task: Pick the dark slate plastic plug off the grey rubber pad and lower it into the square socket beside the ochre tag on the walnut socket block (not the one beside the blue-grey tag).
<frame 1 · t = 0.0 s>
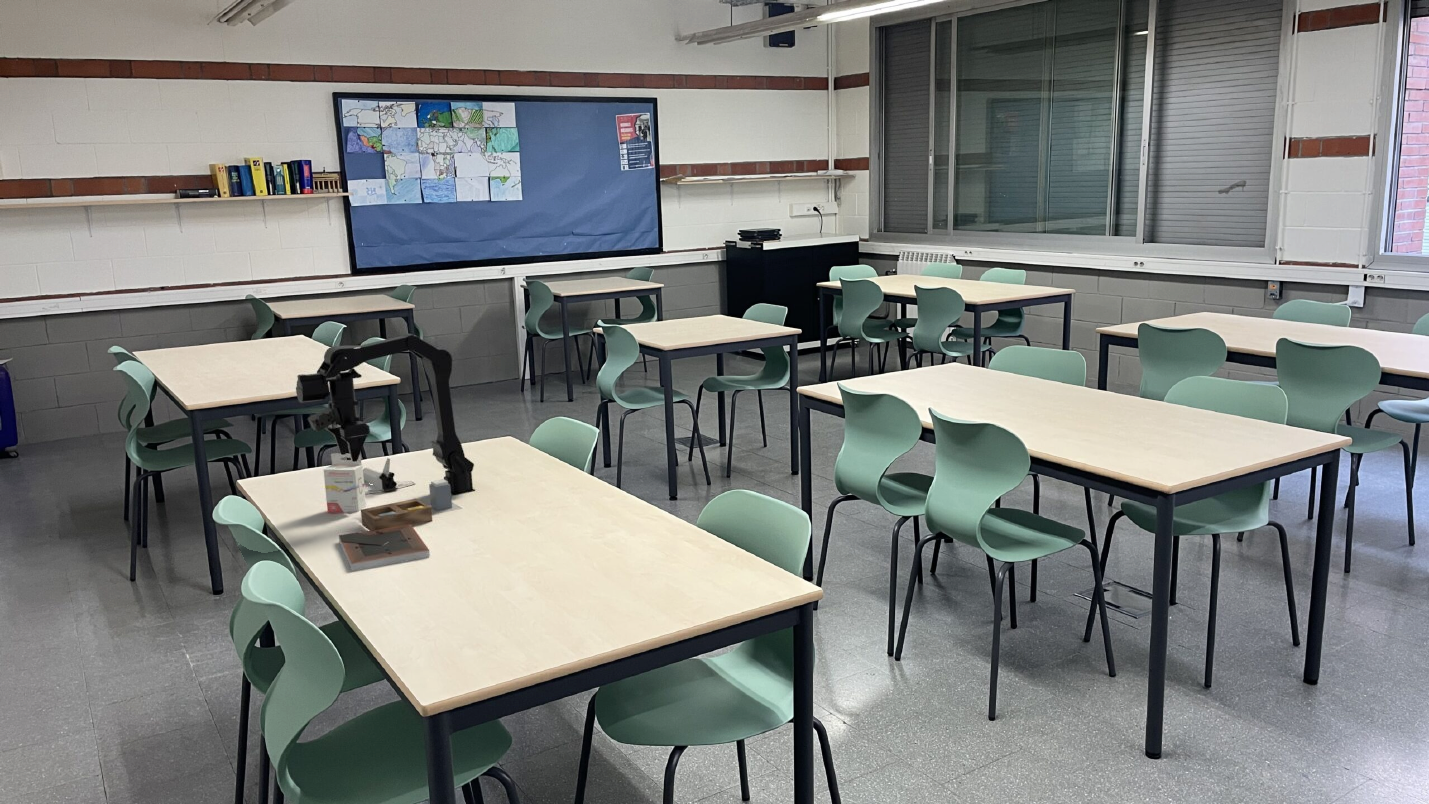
hand: (349, 457, 257), 15 cm above the table, tool pointing down, fingers open, 9 cm apart
socket block: (397, 524, 251), on the table
plug: (441, 507, 261), resting on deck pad
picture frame: (383, 553, 233), on the table
ink cartridge box: (347, 511, 263), on the table
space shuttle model: (377, 485, 288), on the table
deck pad: (441, 509, 261), on the table
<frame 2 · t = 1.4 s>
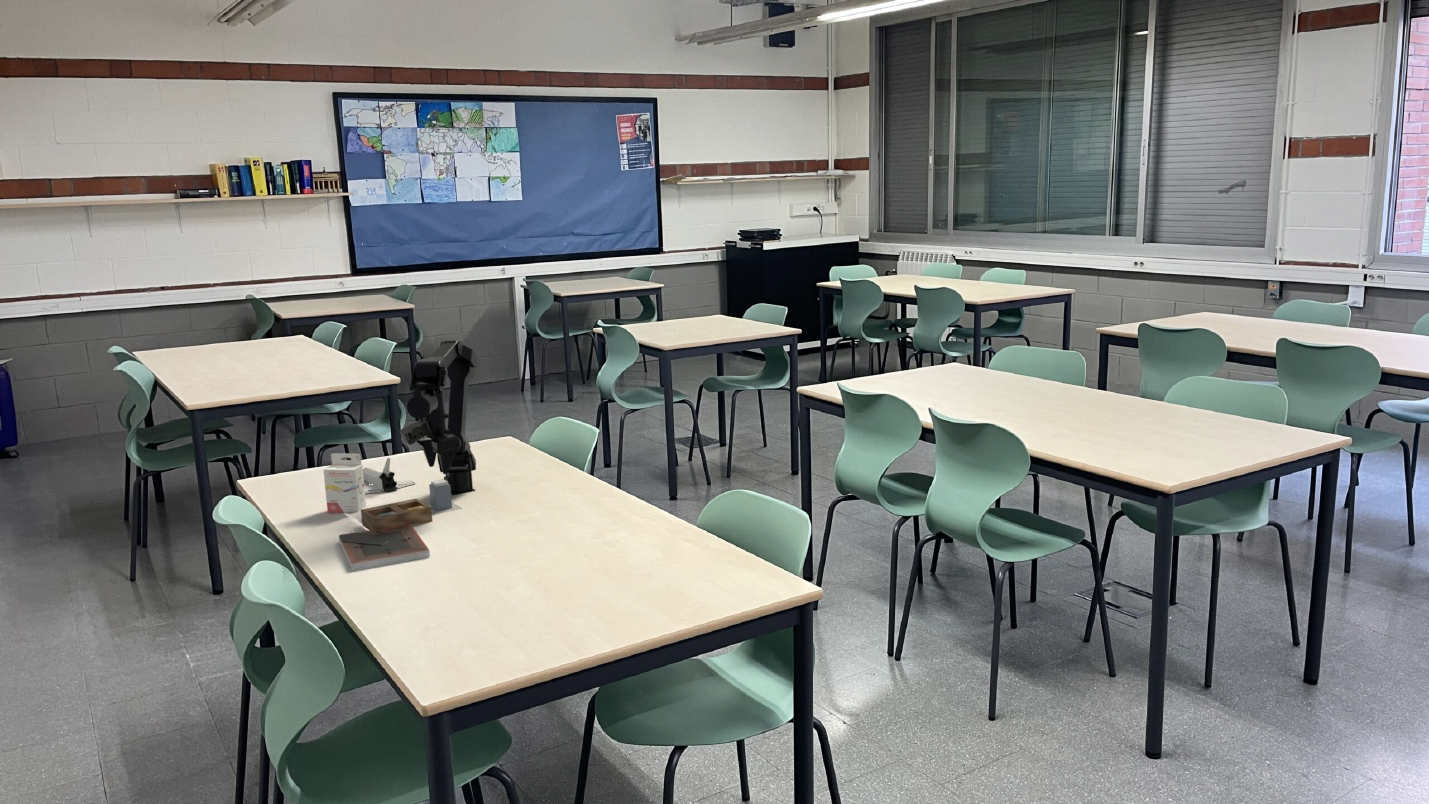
hand: (438, 470, 259), 10 cm above the table, tool pointing down, fingers open, 9 cm apart
nothing on the table moved.
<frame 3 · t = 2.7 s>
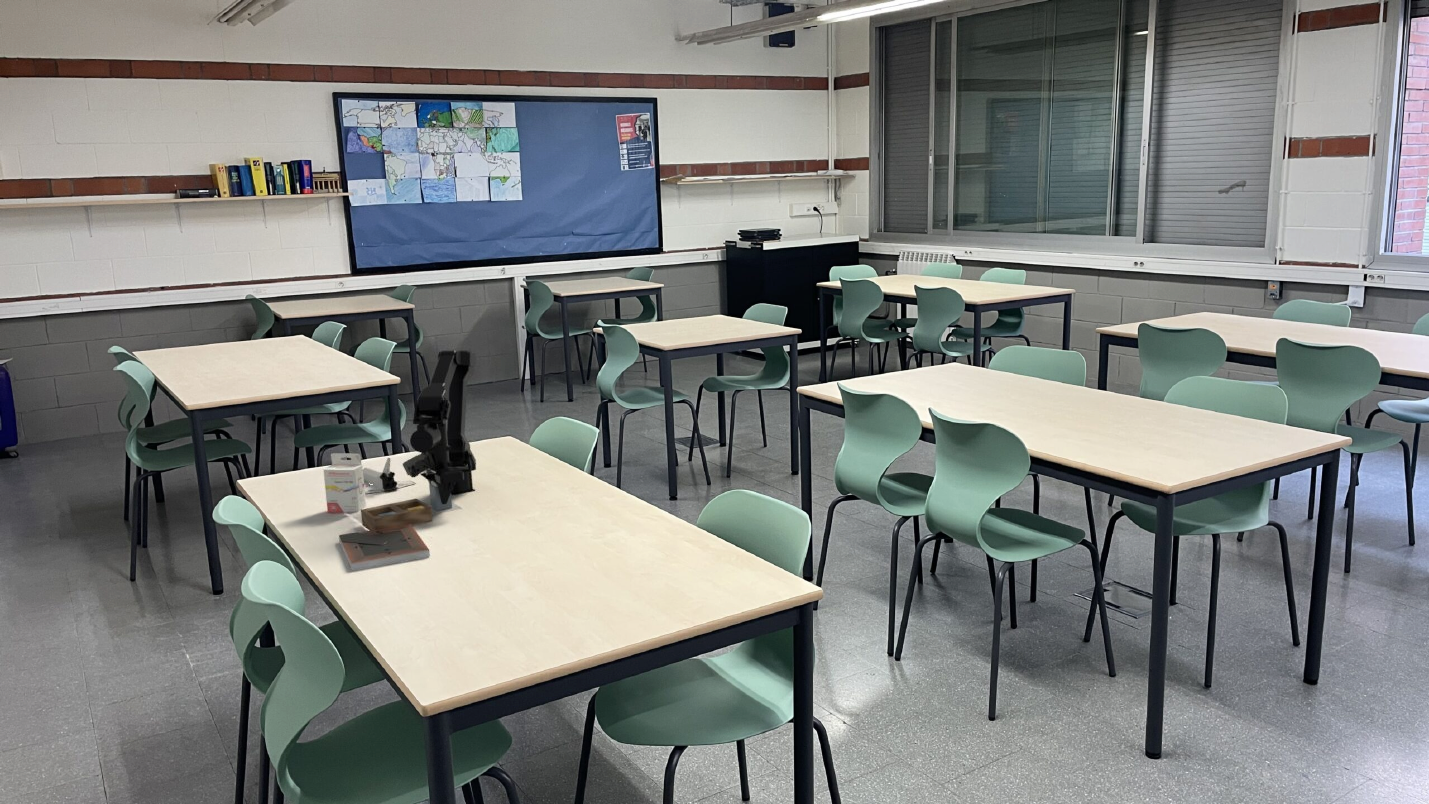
hand: (441, 502, 261), 2 cm above the table, tool pointing down, fingers closed on plug, 4 cm apart
plug: (441, 507, 261), resting on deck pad, touching gripper
everything else where it was.
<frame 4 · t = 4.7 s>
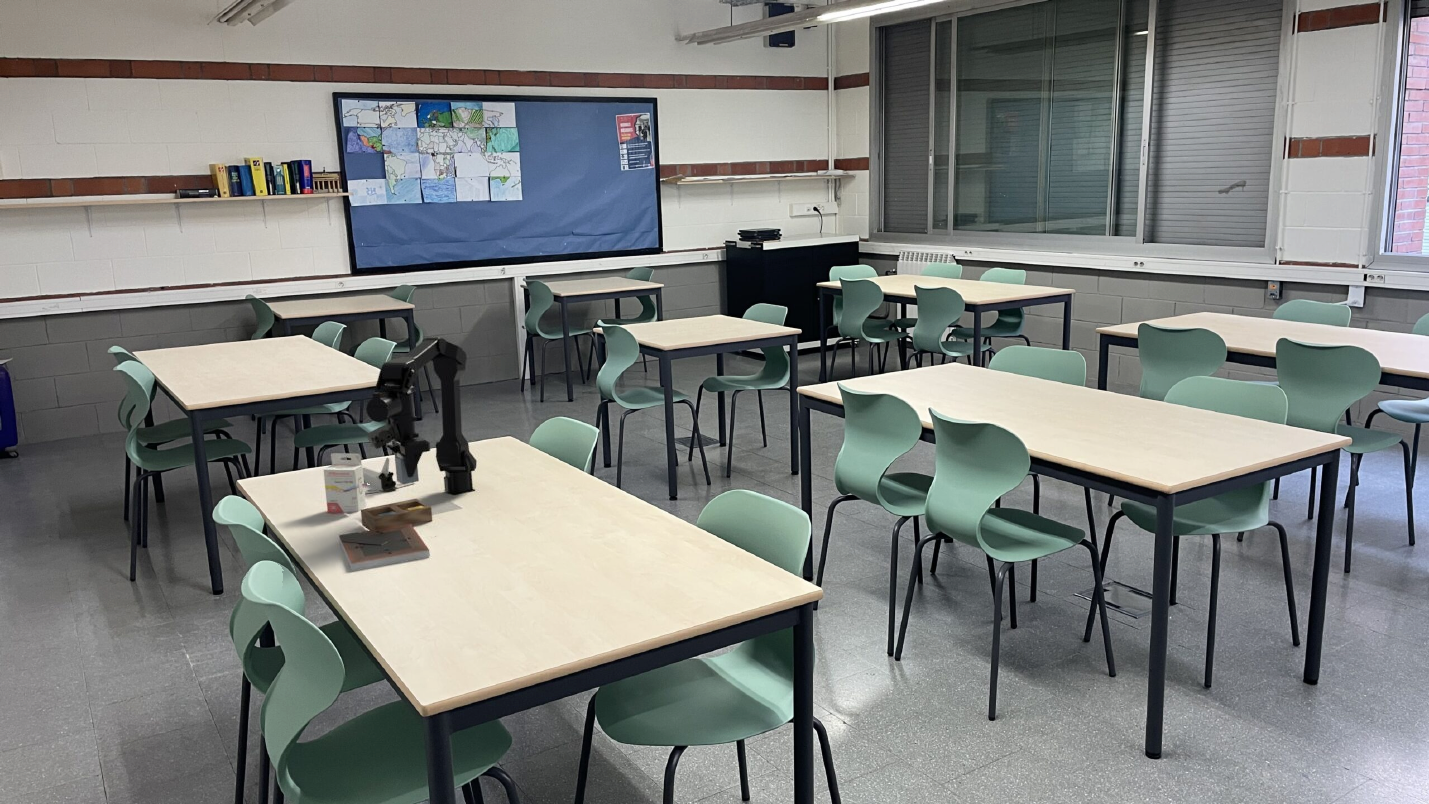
hand: (407, 475, 250), 12 cm above the table, tool pointing down, fingers closed on plug, 4 cm apart
plug: (407, 481, 251), point 10 cm above the table, touching gripper
everything else where it was.
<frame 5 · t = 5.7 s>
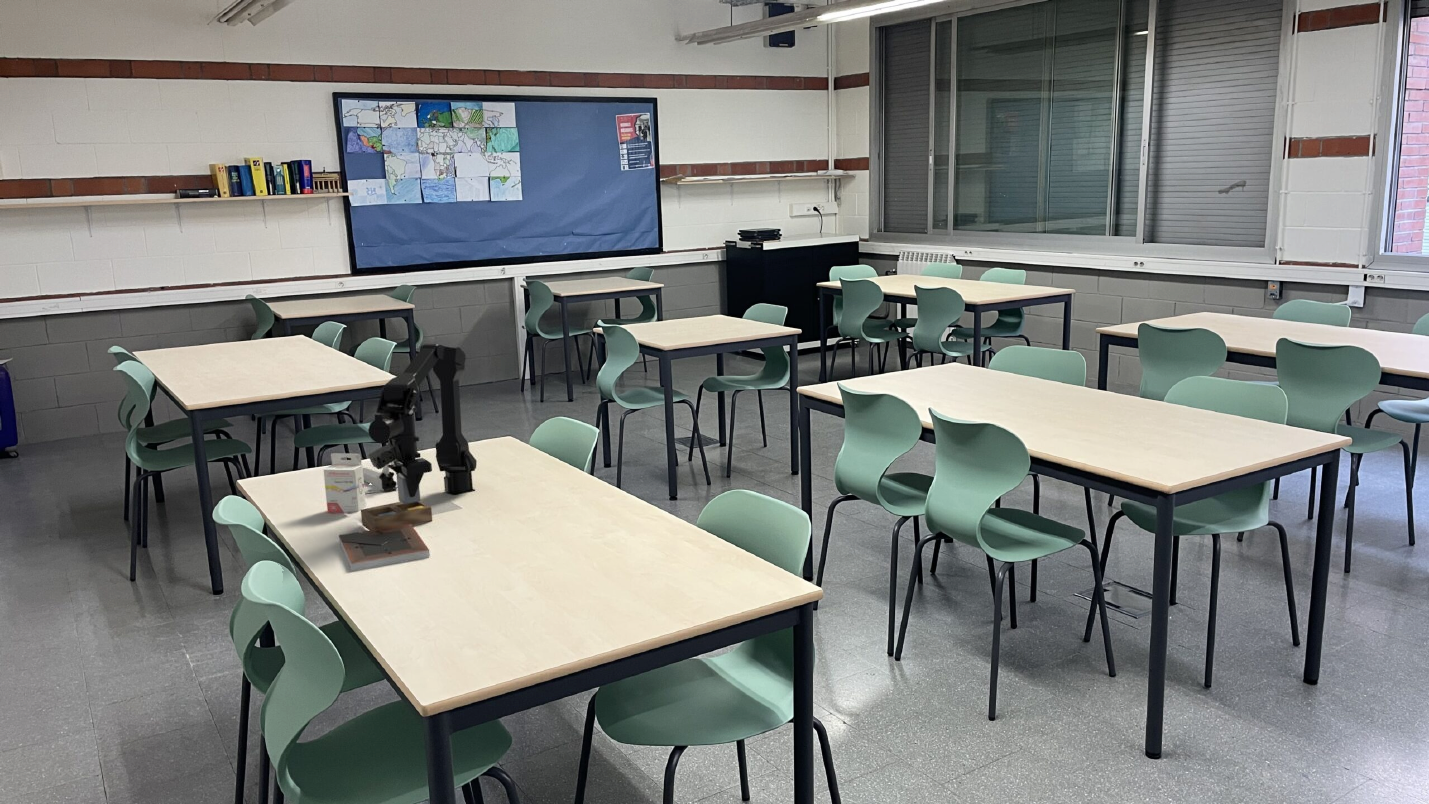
hand: (409, 494, 251), 7 cm above the table, tool pointing down, fingers closed on plug, 4 cm apart
plug: (409, 500, 252), point 5 cm above the table, touching gripper
everything else where it was.
when the fingers open (4 cm above the table, at t = 6.6 s): plug drops 2 cm, resting on socket block.
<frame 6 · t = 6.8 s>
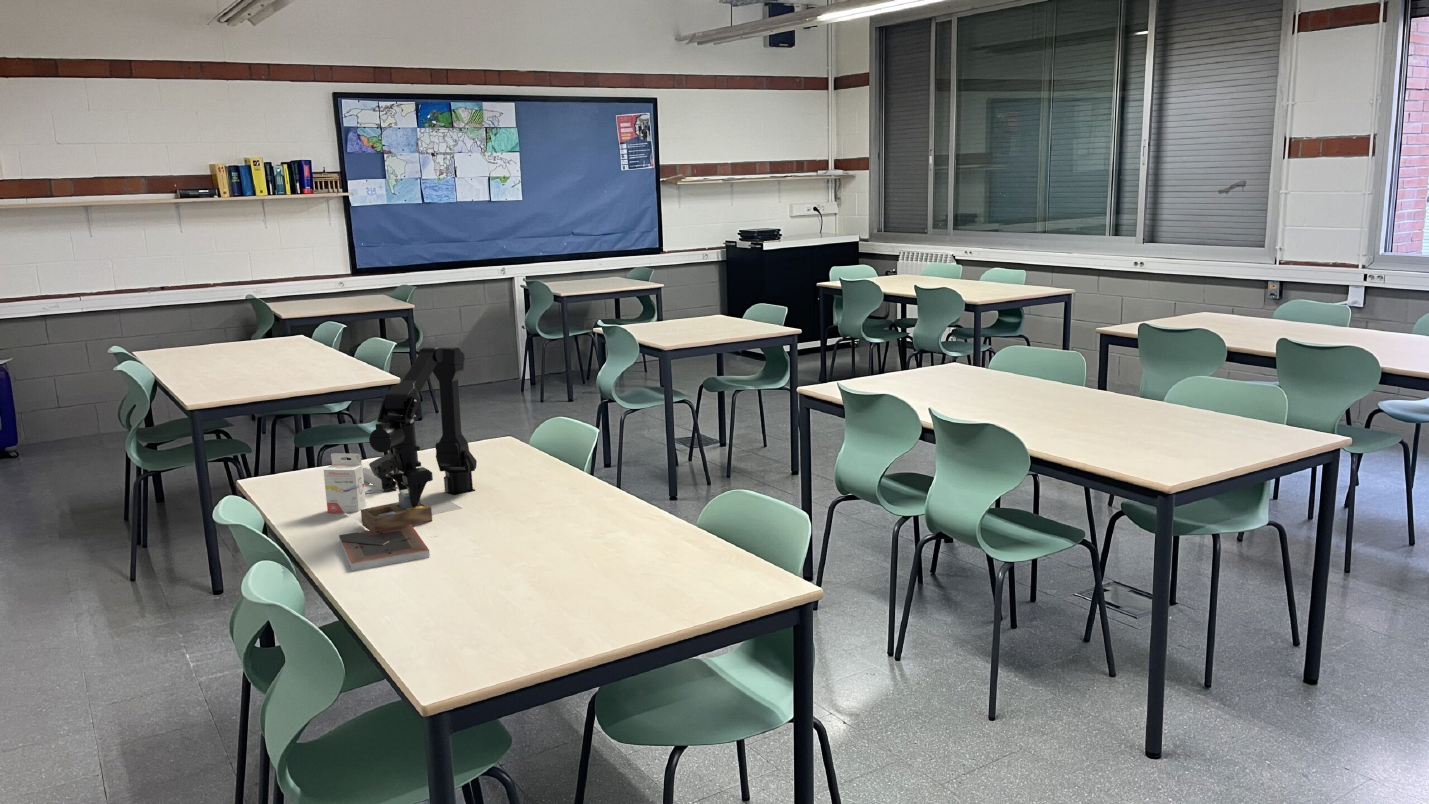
hand: (409, 503, 252), 4 cm above the table, tool pointing down, fingers open, 6 cm apart
plug: (411, 517, 253), point 1 cm above the table, touching socket block
everything else where it was.
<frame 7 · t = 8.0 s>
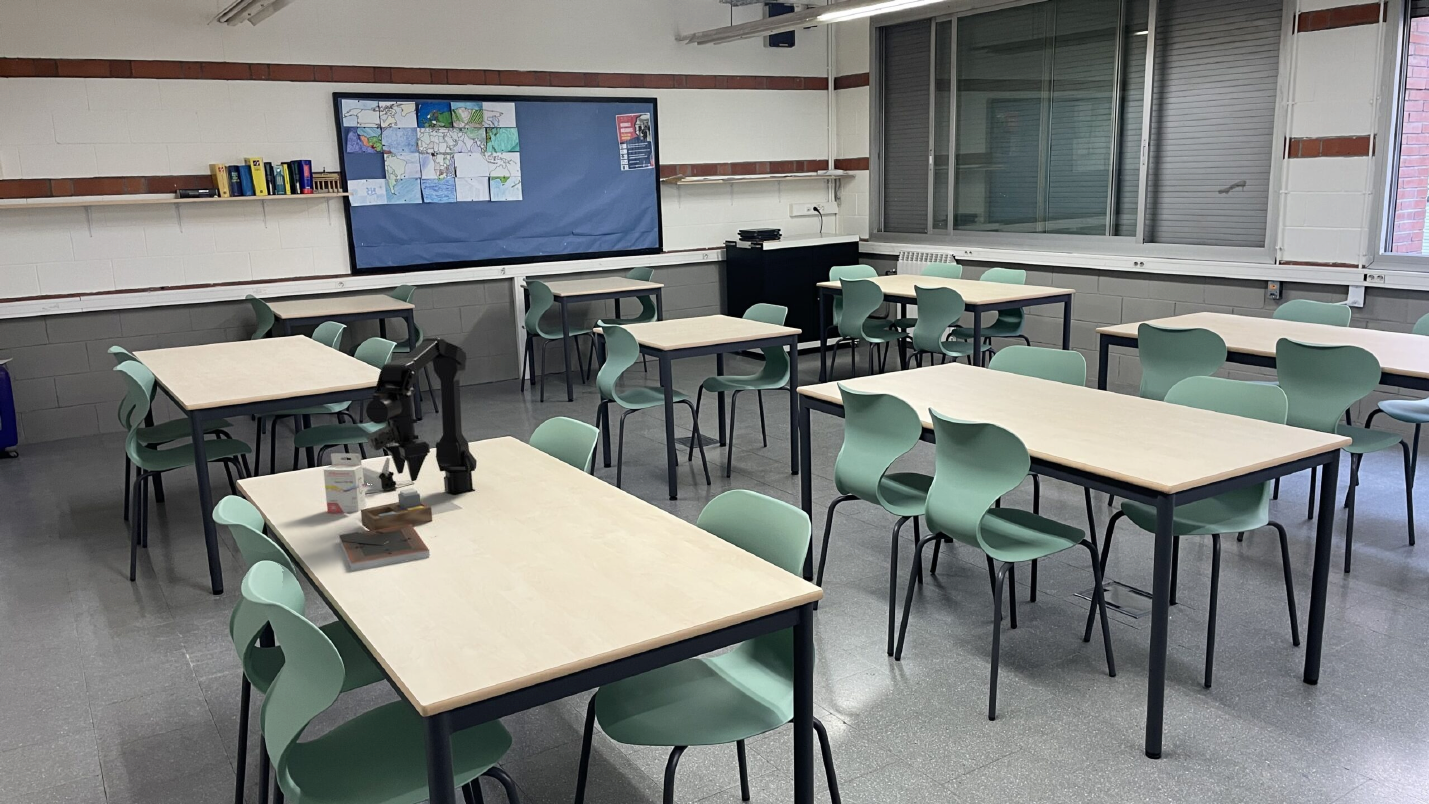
hand: (406, 477, 250), 11 cm above the table, tool pointing down, fingers open, 9 cm apart
nothing on the table moved.
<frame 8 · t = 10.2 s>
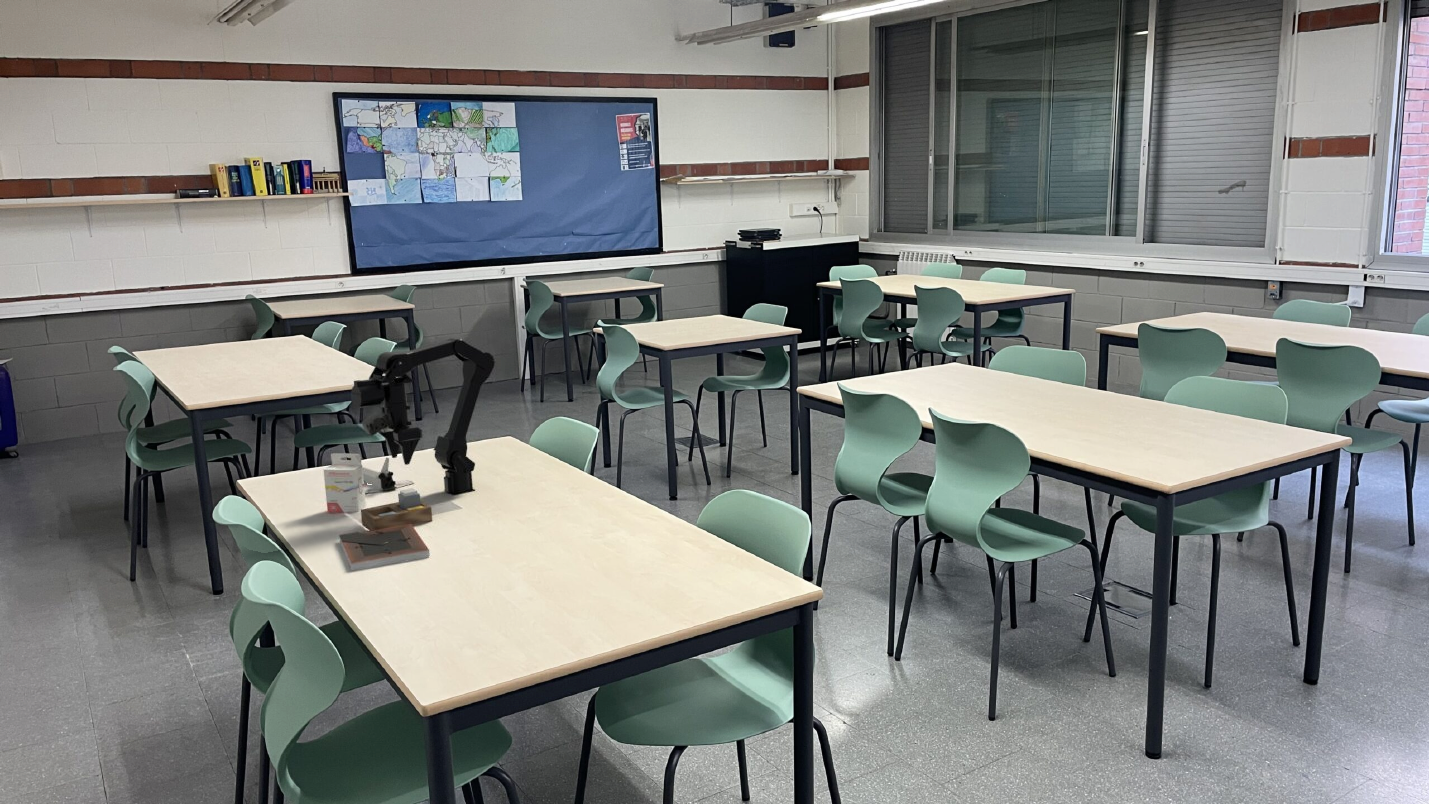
hand: (400, 461, 263), 12 cm above the table, tool pointing down, fingers open, 9 cm apart
nothing on the table moved.
at the end: plug 0.1 cm from the target spot on the socket block, point 0.8 cm above the socket block's base; plug tilted 0°; the gripper is holding nothing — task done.
